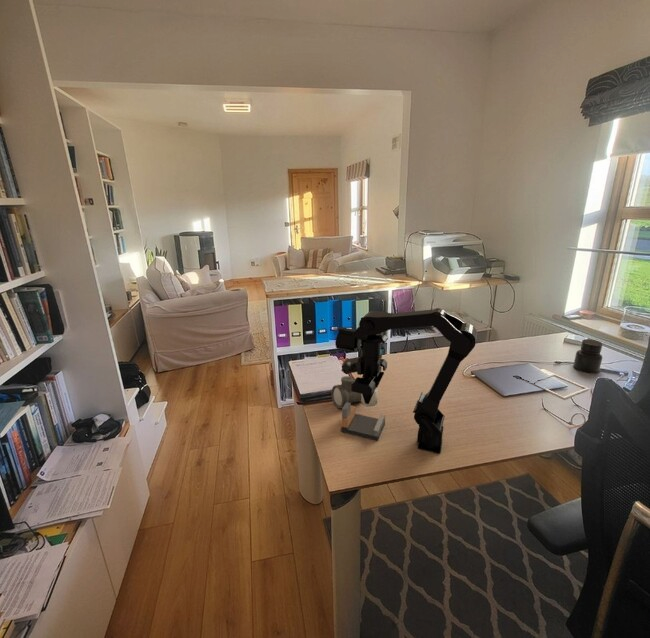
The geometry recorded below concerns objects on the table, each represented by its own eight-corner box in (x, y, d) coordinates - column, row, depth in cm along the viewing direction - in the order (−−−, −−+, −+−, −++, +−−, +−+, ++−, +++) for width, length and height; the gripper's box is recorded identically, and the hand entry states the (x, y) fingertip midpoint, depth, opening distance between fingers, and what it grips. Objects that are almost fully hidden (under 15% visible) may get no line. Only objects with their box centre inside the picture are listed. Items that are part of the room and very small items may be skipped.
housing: (379, 399, 111) (379, 385, 109) (374, 407, 107) (375, 393, 105) (363, 396, 113) (364, 382, 111) (359, 404, 109) (359, 390, 107)
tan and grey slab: (355, 414, 118) (355, 397, 116) (347, 427, 111) (347, 410, 109) (349, 412, 118) (349, 396, 116) (341, 426, 112) (341, 409, 109)
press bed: (384, 424, 115) (385, 415, 114) (377, 440, 107) (378, 431, 106) (350, 416, 119) (350, 407, 118) (341, 431, 112) (341, 422, 111)
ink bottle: (589, 363, 153) (595, 337, 149) (605, 373, 144) (612, 346, 140) (567, 364, 152) (573, 338, 148) (582, 373, 144) (588, 347, 140)
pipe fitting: (340, 412, 121) (342, 384, 119) (329, 402, 128) (331, 376, 126) (369, 406, 126) (371, 380, 124) (357, 397, 133) (359, 372, 131)
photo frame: (543, 368, 148) (589, 388, 132) (542, 370, 148) (588, 390, 133) (519, 376, 142) (564, 397, 126) (519, 378, 142) (564, 400, 127)
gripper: (354, 338, 115) (354, 380, 121) (333, 362, 99) (334, 409, 104) (388, 343, 111) (386, 386, 116) (371, 368, 95) (370, 417, 100)
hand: (369, 399), depth 109 cm, fingers closed on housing, 5 cm apart
